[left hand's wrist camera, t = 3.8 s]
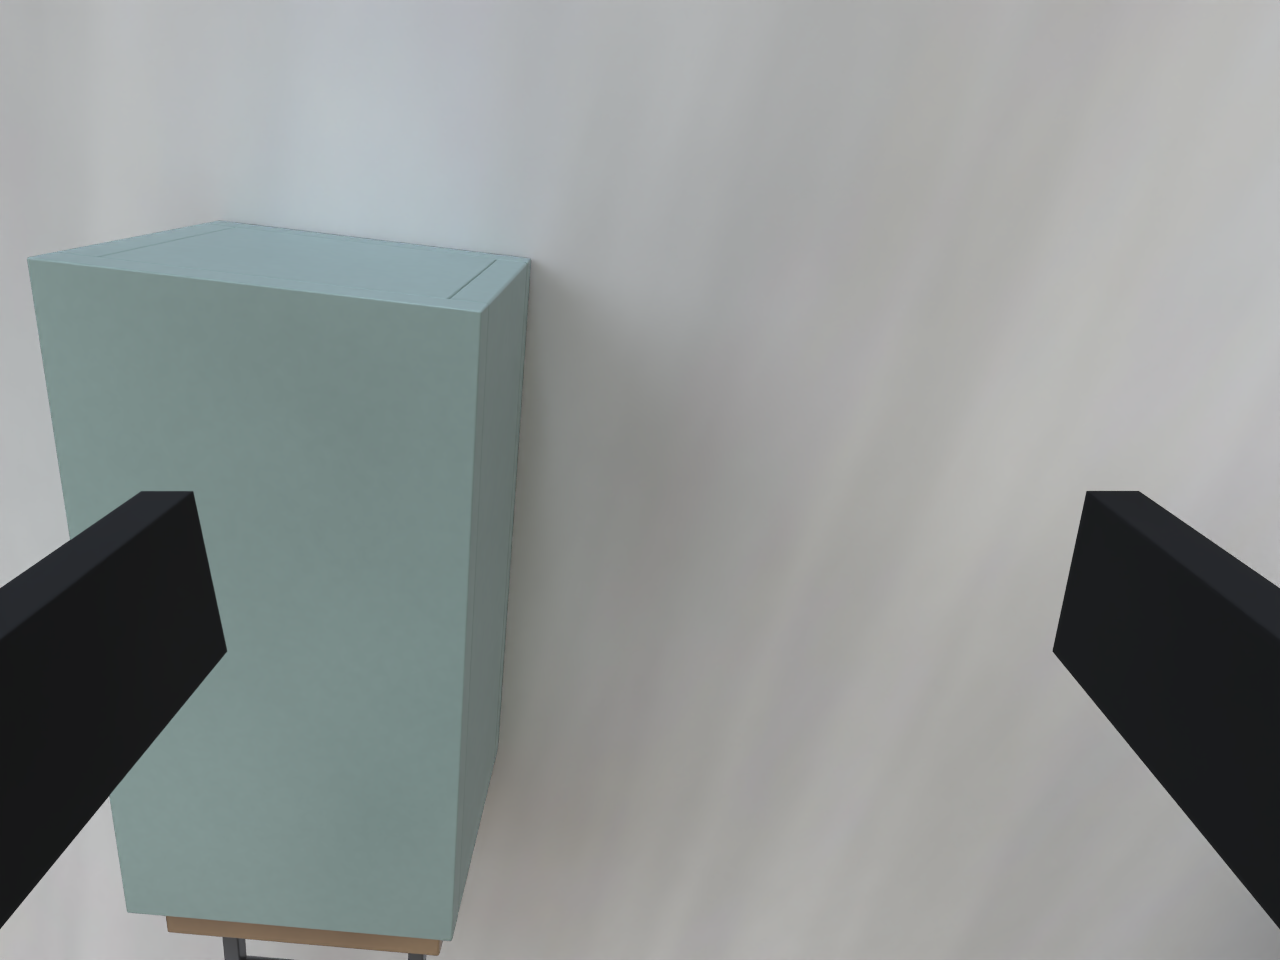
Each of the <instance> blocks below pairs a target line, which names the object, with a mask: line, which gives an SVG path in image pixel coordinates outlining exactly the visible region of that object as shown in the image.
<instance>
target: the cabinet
mask: <svg viewBox="0 0 1280 960" xmlns="http://www.w3.org/2000/svg"><path fill="white" fill-rule="evenodd" d="M27 261H28V268H29V274H30V281H31V287H32V294H33V300H34V307H35V313H36V320H37V326H38V333H39V340H40V346H41V353H42V359H43V366H44V372H45V379H46V385H47V392H48V398H49V405H50V411H51V418H52V424H53V431H54V437H55V444H56V451H57V457H58V464H59V470H60V477H61V483H62V490H63V496H64V503H65V509H66V516H67V522H68V529H69V535H70V540H71V539H72V538H74V537H75V536H77V535H78V534H80V533H81V532H83V531H84V530H86V529H87V528H88V527H90V526H91V525H93V524H94V523H96V522H97V521H99V520H100V519H101V518H103V517H104V516H106V515H107V514H109V513H110V512H112V511H113V510H115V509H116V508H117V507H119V506H120V505H122V504H123V503H125V502H126V501H128V500H129V499H130V498H132V497H133V496H135V495H136V494H138V493H139V492H141V491H193V492H194V497H195V501H196V506H197V511H198V515H199V520H200V525H201V529H202V534H203V539H204V544H205V548H206V553H207V558H208V562H209V567H210V572H211V576H212V581H213V586H214V591H215V595H216V600H217V605H218V609H219V614H220V619H221V624H222V628H223V633H224V638H225V642H226V647H227V652H226V654H225V655H224V656H223V657H222V659H221V660H220V661H219V662H218V663H217V665H216V666H215V667H214V668H213V670H212V671H211V672H210V673H209V674H208V676H207V677H206V678H205V679H204V681H203V682H202V683H201V684H200V685H199V687H198V688H197V689H196V690H195V692H194V693H193V694H192V695H191V696H190V698H189V699H188V700H187V701H186V703H185V704H184V705H183V706H182V707H181V709H180V710H179V711H178V712H177V714H176V715H175V716H174V717H173V718H172V720H171V721H170V722H169V723H168V725H167V726H166V727H165V728H164V729H163V731H162V732H161V733H160V734H159V736H158V737H157V738H156V739H155V740H154V742H153V743H152V744H151V745H150V747H149V748H148V749H147V750H146V751H145V753H144V754H143V755H142V756H141V758H140V759H139V760H138V761H137V762H136V764H135V765H134V766H133V767H132V769H131V770H130V771H129V772H128V773H127V775H126V776H125V777H124V778H123V780H122V781H121V782H120V783H119V784H118V786H117V787H116V788H115V789H114V791H113V792H112V793H111V794H110V795H109V796H110V803H111V809H112V816H113V823H114V829H115V836H116V842H117V849H118V855H119V862H120V868H121V875H122V881H123V888H124V894H125V901H126V907H127V912H128V913H139V914H151V915H162V916H173V917H185V918H196V919H207V920H219V921H230V922H241V923H253V924H264V925H275V926H286V927H298V928H309V929H320V930H332V931H343V932H354V933H366V934H377V935H388V936H400V937H411V938H422V939H434V940H445V941H451V940H452V938H453V934H454V930H455V926H456V921H457V917H458V912H459V908H460V904H461V900H462V896H463V891H464V887H465V883H466V879H467V875H468V871H469V866H470V862H471V858H472V854H473V850H474V846H475V841H476V837H477V833H478V829H479V825H480V820H481V816H482V812H483V808H484V804H485V800H486V795H487V791H488V787H489V783H490V779H491V775H492V770H493V766H494V762H495V758H496V754H497V750H498V739H499V724H500V710H501V695H502V680H503V666H504V651H505V636H506V621H507V607H508V592H509V577H510V563H511V548H512V533H513V518H514V504H515V489H516V474H517V460H518V445H519V430H520V415H521V401H522V386H523V371H524V357H525V342H526V327H527V312H528V298H529V283H530V268H531V259H529V258H522V257H514V256H506V255H497V254H489V253H481V252H473V251H464V250H456V249H448V248H440V247H432V246H423V245H415V244H407V243H399V242H390V241H382V240H374V239H366V238H358V237H349V236H341V235H333V234H325V233H317V232H308V231H300V230H292V229H284V228H275V227H267V226H259V225H251V224H243V223H234V222H226V221H215V222H210V223H204V224H199V225H194V226H188V227H183V228H178V229H173V230H168V231H162V232H157V233H152V234H147V235H142V236H136V237H131V238H126V239H121V240H116V241H111V242H105V243H100V244H95V245H90V246H85V247H79V248H74V249H69V250H64V251H59V252H53V253H48V254H43V255H38V256H33V257H28V258H27Z"/></svg>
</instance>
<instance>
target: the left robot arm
mask: <svg viewBox="0 0 1280 960" xmlns="http://www.w3.org/2000/svg"><path fill="white" fill-rule="evenodd" d="M226 652H227V647H226V642H225V638H224V633H223V628H222V624H221V619H220V614H219V609H218V605H217V600H216V595H215V591H214V586H213V581H212V576H211V572H210V567H209V562H208V558H207V553H206V548H205V544H204V539H203V534H202V529H201V525H200V520H199V515H198V511H197V506H196V501H195V497H194V492H193V491H141V492H139V493H138V494H136V495H135V496H133V497H132V498H130V499H129V500H128V501H126V502H125V503H123V504H122V505H120V506H119V507H117V508H116V509H115V510H113V511H112V512H110V513H109V514H107V515H106V516H104V517H103V518H101V519H100V520H99V521H97V522H96V523H94V524H93V525H91V526H90V527H88V528H87V529H86V530H84V531H83V532H81V533H80V534H78V535H77V536H75V537H74V538H72V539H71V540H70V541H68V542H67V543H65V544H64V545H62V546H61V547H59V548H58V549H57V550H55V551H54V552H52V553H51V554H49V555H48V556H46V557H45V558H43V559H42V560H41V561H39V562H38V563H36V564H35V565H33V566H32V567H30V568H29V569H28V570H26V571H25V572H23V573H22V574H20V575H19V576H17V577H16V578H14V579H13V580H12V581H10V582H9V583H7V584H6V585H4V586H3V587H1V588H0V929H1V927H2V926H3V925H4V924H5V923H6V921H7V920H8V919H9V918H10V916H11V915H12V914H13V913H14V912H15V910H16V909H17V908H18V907H19V905H20V904H21V903H22V902H23V901H24V899H25V898H26V897H27V896H28V894H29V893H30V892H31V891H32V890H33V888H34V887H35V886H36V885H37V883H38V882H39V881H40V880H41V879H42V877H43V876H44V875H45V874H46V872H47V871H48V870H49V869H50V868H51V866H52V865H53V864H54V863H55V861H56V860H57V859H58V858H59V857H60V855H61V854H62V853H63V852H64V850H65V849H66V848H67V847H68V846H69V844H70V843H71V842H72V841H73V839H74V838H75V837H76V836H77V835H78V833H79V832H80V831H81V830H82V828H83V827H84V826H85V825H86V824H87V822H88V821H89V820H90V819H91V817H92V816H93V815H94V814H95V813H96V811H97V810H98V809H99V808H100V806H101V805H102V804H103V803H104V802H105V800H106V799H107V798H108V797H109V795H110V794H111V793H112V792H113V791H114V789H115V788H116V787H117V786H118V784H119V783H120V782H121V781H122V780H123V778H124V777H125V776H126V775H127V773H128V772H129V771H130V770H131V769H132V767H133V766H134V765H135V764H136V762H137V761H138V760H139V759H140V758H141V756H142V755H143V754H144V753H145V751H146V750H147V749H148V748H149V747H150V745H151V744H152V743H153V742H154V740H155V739H156V738H157V737H158V736H159V734H160V733H161V732H162V731H163V729H164V728H165V727H166V726H167V725H168V723H169V722H170V721H171V720H172V718H173V717H174V716H175V715H176V714H177V712H178V711H179V710H180V709H181V707H182V706H183V705H184V704H185V703H186V701H187V700H188V699H189V698H190V696H191V695H192V694H193V693H194V692H195V690H196V689H197V688H198V687H199V685H200V684H201V683H202V682H203V681H204V679H205V678H206V677H207V676H208V674H209V673H210V672H211V671H212V670H213V668H214V667H215V666H216V665H217V663H218V662H219V661H220V660H221V659H222V657H223V656H224V655H225V654H226ZM1053 652H1054V654H1055V655H1056V656H1057V657H1058V659H1059V660H1060V661H1061V662H1062V663H1063V665H1064V666H1065V667H1066V668H1067V670H1068V671H1069V672H1070V673H1071V674H1072V676H1073V677H1074V678H1075V679H1076V681H1077V682H1078V683H1079V684H1080V685H1081V687H1082V688H1083V689H1084V690H1085V692H1086V693H1087V694H1088V695H1089V696H1090V698H1091V699H1092V700H1093V701H1094V703H1095V704H1096V705H1097V706H1098V707H1099V709H1100V710H1101V711H1102V712H1103V714H1104V715H1105V716H1106V717H1107V718H1108V720H1109V721H1110V722H1111V723H1112V725H1113V726H1114V727H1115V728H1116V729H1117V731H1118V732H1119V733H1120V734H1121V736H1122V737H1123V738H1124V739H1125V740H1126V742H1127V743H1128V744H1129V745H1130V747H1131V748H1132V749H1133V750H1134V751H1135V753H1136V754H1137V755H1138V756H1139V758H1140V759H1141V760H1142V761H1143V762H1144V764H1145V765H1146V766H1147V767H1148V769H1149V770H1150V771H1151V772H1152V773H1153V775H1154V776H1155V777H1156V778H1157V780H1158V781H1159V782H1160V783H1161V784H1162V786H1163V787H1164V788H1165V789H1166V791H1167V792H1168V793H1169V794H1170V795H1171V797H1172V798H1173V799H1174V800H1175V802H1176V803H1177V804H1178V805H1179V806H1180V808H1181V809H1182V810H1183V811H1184V813H1185V814H1186V815H1187V816H1188V817H1189V819H1190V820H1191V821H1192V822H1193V824H1194V825H1195V826H1196V827H1197V828H1198V830H1199V831H1200V832H1201V833H1202V835H1203V836H1204V837H1205V838H1206V839H1207V841H1208V842H1209V843H1210V844H1211V846H1212V847H1213V848H1214V849H1215V850H1216V852H1217V853H1218V854H1219V855H1220V857H1221V858H1222V859H1223V860H1224V861H1225V863H1226V864H1227V865H1228V866H1229V868H1230V869H1231V870H1232V871H1233V872H1234V874H1235V875H1236V876H1237V877H1238V879H1239V880H1240V881H1241V882H1242V883H1243V885H1244V886H1245V887H1246V888H1247V890H1248V891H1249V892H1250V893H1251V894H1252V896H1253V897H1254V898H1255V899H1256V901H1257V902H1258V903H1259V904H1260V905H1261V907H1262V908H1263V909H1264V910H1265V912H1266V913H1267V914H1268V915H1269V916H1270V918H1271V919H1272V920H1273V921H1274V923H1275V924H1276V925H1277V926H1278V927H1279V929H1280V588H1279V587H1277V586H1276V585H1274V584H1273V583H1271V582H1270V581H1268V580H1267V579H1266V578H1264V577H1263V576H1261V575H1260V574H1258V573H1257V572H1255V571H1254V570H1252V569H1251V568H1250V567H1248V566H1247V565H1245V564H1244V563H1242V562H1241V561H1239V560H1238V559H1237V558H1235V557H1234V556H1232V555H1231V554H1229V553H1228V552H1226V551H1225V550H1223V549H1222V548H1221V547H1219V546H1218V545H1216V544H1215V543H1213V542H1212V541H1210V540H1209V539H1208V538H1206V537H1205V536H1203V535H1202V534H1200V533H1199V532H1197V531H1196V530H1194V529H1193V528H1192V527H1190V526H1189V525H1187V524H1186V523H1184V522H1183V521H1181V520H1180V519H1179V518H1177V517H1176V516H1174V515H1173V514H1171V513H1170V512H1168V511H1167V510H1165V509H1164V508H1163V507H1161V506H1160V505H1158V504H1157V503H1155V502H1154V501H1152V500H1151V499H1150V498H1148V497H1147V496H1145V495H1144V494H1142V493H1141V492H1139V491H1087V492H1086V496H1085V501H1084V506H1083V511H1082V515H1081V520H1080V525H1079V529H1078V534H1077V539H1076V544H1075V548H1074V553H1073V558H1072V562H1071V567H1070V572H1069V576H1068V581H1067V586H1066V591H1065V595H1064V600H1063V605H1062V609H1061V614H1060V619H1059V624H1058V628H1057V633H1056V638H1055V642H1054V647H1053Z"/></svg>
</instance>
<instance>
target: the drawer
mask: <svg viewBox="0 0 1280 960" xmlns="http://www.w3.org/2000/svg"><path fill="white" fill-rule="evenodd" d="M166 920H167V928H168V932H173V933H184V934H196V935H207V936H219V937H223V946H224V957H225V960H292V959H280V958H269V957H257V956H246V944H245V939H253V940H264V941H276V942H287V943H298V944H310V945H321V946H333V947H344V948H356V949H367V950H378V951H390V952H401V953H408V960H426V955H436V956H437V955H439V953H440V950H441V946H442V942H443V940H434V939H422V938H411V937H400V936H388V935H377V934H366V933H354V932H343V931H332V930H320V929H309V928H298V927H286V926H275V925H264V924H253V923H241V922H230V921H219V920H207V919H196V918H185V917H173V916H166Z"/></svg>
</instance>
